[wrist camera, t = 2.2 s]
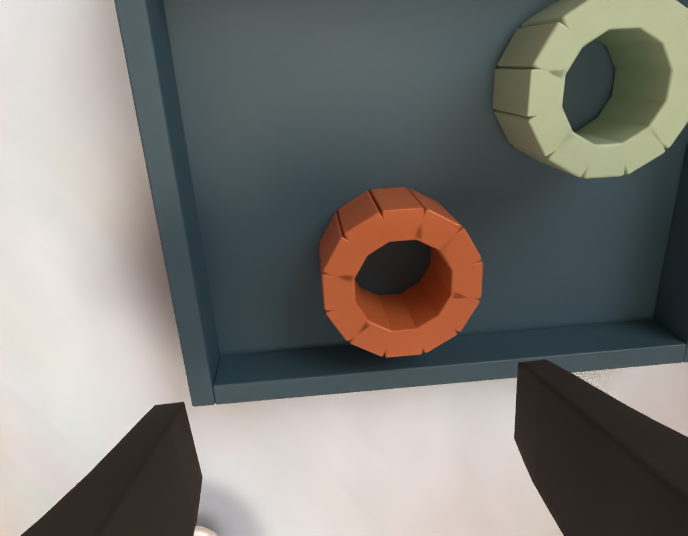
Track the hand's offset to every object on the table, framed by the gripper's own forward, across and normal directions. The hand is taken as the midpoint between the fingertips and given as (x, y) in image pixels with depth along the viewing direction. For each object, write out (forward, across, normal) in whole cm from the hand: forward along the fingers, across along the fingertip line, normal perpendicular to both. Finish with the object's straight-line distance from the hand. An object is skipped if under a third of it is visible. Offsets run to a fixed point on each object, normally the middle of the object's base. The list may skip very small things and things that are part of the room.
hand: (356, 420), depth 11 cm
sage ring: (+8, -8, -6) cm, 13 cm away
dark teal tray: (+9, -4, -4) cm, 10 cm away
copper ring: (+8, -2, -1) cm, 8 cm away
